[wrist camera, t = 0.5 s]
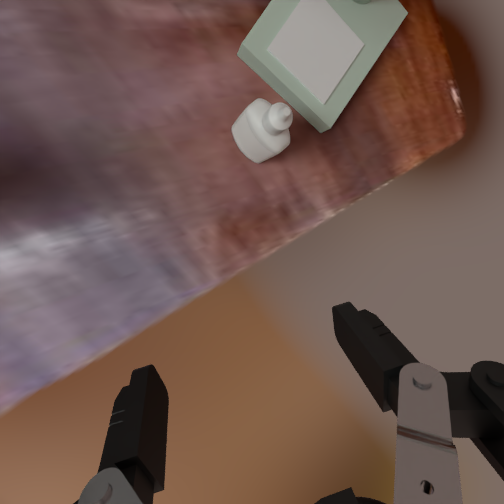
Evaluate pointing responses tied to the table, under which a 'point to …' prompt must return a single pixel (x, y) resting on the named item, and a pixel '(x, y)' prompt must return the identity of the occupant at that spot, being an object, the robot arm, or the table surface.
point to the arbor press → (319, 50)
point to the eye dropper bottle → (263, 130)
